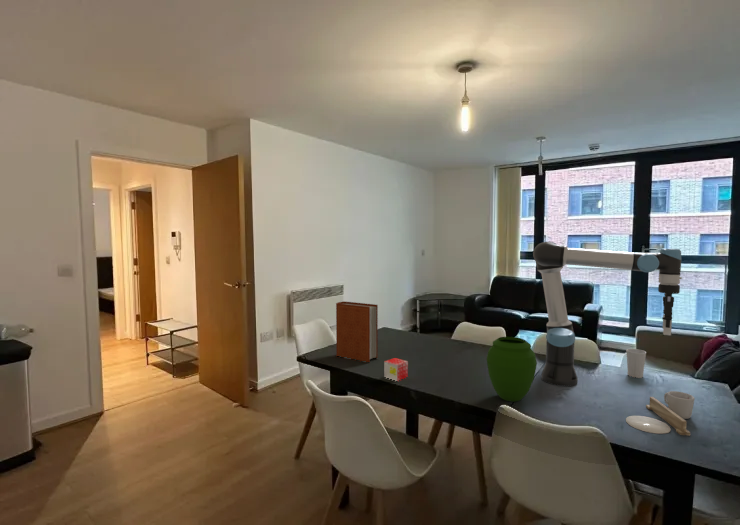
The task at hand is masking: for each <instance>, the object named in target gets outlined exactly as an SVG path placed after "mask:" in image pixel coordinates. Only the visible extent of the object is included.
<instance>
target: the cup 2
mask: <svg viewBox="0 0 740 525" xmlns="http://www.w3.org/2000/svg"><path fill="white" fill-rule="evenodd" d="M663 399H664V402H665V404H666V405H668V408H669V409H670V410H672V411H673V412H675V413H676V414H677V415H679V416H680V417H681V418H683V419H684V420H688V419H691V417H692V416H693V415H692V414H693V409H694V404H695V400H696V398H695V397H694V395H692V394H690V393H687V392H682V391H675V390H671V391H668V392H665V394H664V396H663Z"/></svg>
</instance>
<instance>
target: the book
mask: <svg viewBox="0 0 740 525" xmlns="http://www.w3.org/2000/svg"><path fill="white" fill-rule="evenodd" d="M335 304H336V305H335V308H336V309H335V310H336V311H335V316H336V320H335V321H336V322H335V323H336V324H335V325H336V326H335V328H336V334H335V335H336V341H335V342H336V343H335V344H336V346H335V347H336V350H335V351H336V357H337V356H341V357H347V358H351V359H356V360H360V361H359V362H361V361H366V362H370V363H371V361H370V360H371V359H373V358H378V357H379V356H378V355H379V354H378V353H379V352H378V348H379V347H378V344H379V343H378V336H379V334H378V331H379V330H378V329H379V328H378V327H379V325H378V324H379V323H378V322H379V318H378V312H379V311H378V308H379V307H378V304H375V303H374V304H373V303H364V302H355V301H354V302H352V301H339V302H336V303H335ZM351 359H350V360H351ZM356 360H355V361H356ZM366 362H365V363H366Z"/></svg>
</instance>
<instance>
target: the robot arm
mask: <svg viewBox="0 0 740 525" xmlns="http://www.w3.org/2000/svg"><path fill="white" fill-rule="evenodd" d="M532 254H533V255H532V256H533V259H534V261H535V263H536V270H537V272H539V273H540V274H541V279H542V286H543V292H544V293H543V294H544V298H545V304H546V310H547V316H548V317H547V318H548V322H546V336H545V340H546V346H545V347H546V348H545V349H546V351H545V364H544V367H543V369H542V372H541V380H542V381H543V382H545V383H548V384H550V385H554V386H558V387H559V386H560V387H574V386H577V385H578V376H577V371H576V369H575V362H574V361H575V342H576V334H575V332H574V328H573V322H572V321H570V320H569V318H568V317H569V316H568V312H567V305H566V299H565V291H564V286H563V281H562V275H561V271H562V269H563V268H564V267H565V266H566V265H568V266H580V267H593V268H603V269H617V270H627V271H635V272H643V273H652V272H655V271H658V283H659V284H658V288H657V290H658V293H660V294H664V296H662V304H663V305H662V306H663V310H662V312H663V315H662V329H663V330H662V331H663V332H662V335H665V336H672V327H673V326H672V325H673V307H674V302H675V297H673V295H674V294H675V295H677V294H680V292H681V289H680V288H681V286H680V283H681V280H682V279H683V277H682V276H681V271H682V270H681V269H682V251H681V249H679V248H660V250H659V252H655V253H654V252H629V251H613V250H602V249H601V250H600V249H587V248H586V249H585V248H576V247H568V246H567V245H563V244H557V243H555V242H553V241H550V240H549V241H543V242H541V243H538V244H537V245H536V246H535V248H534V249H533V252H532Z"/></svg>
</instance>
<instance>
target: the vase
mask: <svg viewBox="0 0 740 525" xmlns="http://www.w3.org/2000/svg"><path fill="white" fill-rule="evenodd" d="M537 364H538V362H537V357H536V353H535V352H534V350H533V349H532V344H531V343H530V342H528V341H527V340H526V339H524V338H522V337H518V336H517V337H516V336H500V337H497V338H496V339H495V340H493V341H492V346H490V347H489V349H488V351H487V355H486V365H487V373H488V377H489V379H490V381H491V385H492V388H493V389H494V391H495V392H496V395H498V397H499V398H500V399H502V400H504V401H507V402H514V403H515V402H516V403H517V402H519V401H521V400H523V398H524V397H526V395H527V393H528V392H529V391H530V389H531V387H532V385H533V381H534V380H535V375H536V370H537Z"/></svg>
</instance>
